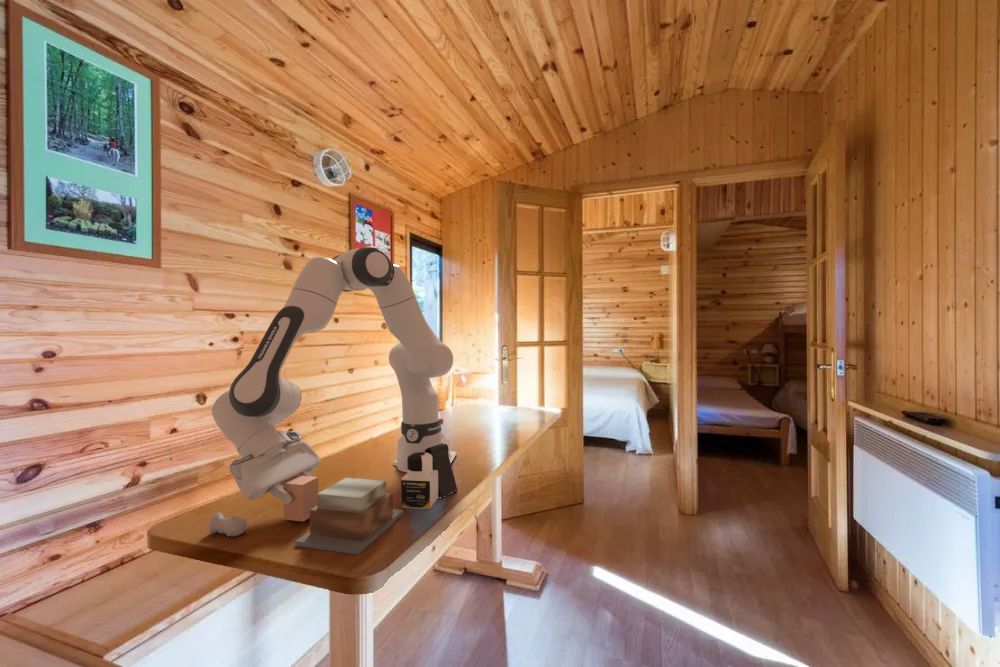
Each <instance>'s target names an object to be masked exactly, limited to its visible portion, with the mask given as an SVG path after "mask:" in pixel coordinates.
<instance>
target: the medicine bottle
mask: <svg viewBox="0 0 1000 667" xmlns="http://www.w3.org/2000/svg"><path fill="white" fill-rule="evenodd" d="M407 470H408V472H406V474H404V476H403V477H401V480H400V481H401V482H400V484H401V485H400V488H401V489H400V490H401V496H400V497H401V508H402V509H417V510H418V509H419V510H431V508H432V507H433V506H434V504H435V503H436V501H437V500H438V499H439V498H438V471H437V470H433V465H432V455H431V454H429V453H426V452H418V453H413V454H411V455H409V456H408V458H407Z"/></svg>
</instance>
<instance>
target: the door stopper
mask: <svg viewBox="0 0 1000 667" xmlns="http://www.w3.org/2000/svg"><path fill="white" fill-rule="evenodd" d="M425 452H426V453H429V454H431V455H432V465H433V470H437V471H438V497H441V498H442V497H444V496H446V495H448V494H450V493H451V492H453V491H455V490H458V487H457V483H456V479H455V475H454V471H453V467H452V465H451V463H450V459H449V455H448V452H449V448H448V445H447V444H443V443H442V444H439V445H436V446H433V447H430V448H427V449H426V450H425ZM450 495H451V494H450ZM448 496H449V495H448ZM446 497H447V496H446ZM444 498H445V497H444ZM442 499H443V498H442Z"/></svg>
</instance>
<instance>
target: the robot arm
mask: <svg viewBox="0 0 1000 667" xmlns="http://www.w3.org/2000/svg"><path fill="white" fill-rule="evenodd" d="M366 289H369V290H370V291H371V292H372V293H373V295H374V296H375V299H376V302H377V304H378V308H379V309H380V312H381V315H382V317H383V319H384V322H385V324H386V327H387V328H388V329H387V330H389V333H391V335H393V336H394V337H395V339H397V340H398V342H400V343H397V344H395V345H394V346H393V347H392V348H391V349H390V351H389V354H388V362H389V364H390V367H391V368H392V370H393V372H394V373H395V375H396V379H397V382H398V385H399V390H400V394H401V409H402V411H401V412H402V421H401V424H400V433H401V436H400V437H399V438H398V439H397V448H396V459H395V460H393V466H395V467H397V470H398V471H400V472H403V473H408V470H407V458H408V456H409V455H411V454H413V453H418V452H425V450H426V449H427V448H430V447H433V446H436V445H439V444H442V443H443V444H447V445H448V448H449V452H448V455H449V459H450V463H452V461H453V459H454V457H455V455H456V453H457V451H454V450H451V446H450V439H449V437H447V436H446V434H445V433H443V432H442V430H443V429H442V426H443V425H444V418H440V417H439V394H438V393H437V391H436V390H435V389H434V387H433V385H432V383H431V379H433V378H439V377H442V376H445V375H447V374H448V373H449V372H450V371H451V370H452V367H453V364H454V354H453V352H452V349H450V348H449V346H448V345H446V344H445V343H443V342H442V341H441V339H439V337H438V336H437V335H436V334H435V332H434V331H433V329H432V328H431V327H430V325H429V324H428V322H427V320H426V319H425V317H424V314H423V312H422V308H421V307H420V304H419V302H418V299H417V297H416V293H415V291H414V288H413V287H412V284H411V282H410V280H409V279H408V277H407V275H406V273H405V272H404V270H403V269H402V267H401V266H399V265H398V264H395V263H393V261H392V260H391V258H390V257H389V256H388V254H387V252H385V251H384V250H382V249H381V248H379V247H376V246H372V245H371V246H362V247H360V248H359V247H358V248H353V249H349V250H347V251H346V252H344V253H341V254H339V255H336V256H335V257H333V258H332V259H331V258H329V257H324V256H316V257H315V256H314V257H313V258H311V259H309V260H308V261H307V262H306V263H305V265H304V267H302V270H301V271H300V273H299V275H298V277H297V278H296V280H295V283H294V285H293V287H292V289H291V292H290V294H289V296H288V298H287V300H286V302H285V304H284V305H283V306H282V308H281V309H280V310H279V311H278V312H277V314H275V316H274V318H273V319H272V321H271V322H270V324H269V326H268V328H267V330H266V331H265V334H264V335H263V337H262V338H261V341H260V343H259V344H258V346H257V348H256V350H255V351H254V353H253V356H252V357H251V360H250V361H249V362H248V363H247V365H246V366H245V368H243V370H241V371H240V372H239V373H238V375H236V377H235V378H234V380H233V381H232V383H231V385H230V387H229V390H226V391H225V392H224V393H222V394H221V395H220V396H218V398H217V399H216V400H215V402H214V403H213V405H212V407H211V414H212V417H213V420H214V422H215V424H216V426H217V427H218V428H219V430H220V431H221V433H222V435H223V436H224V437H225V438H226V439H227V440H228V441H230V443H232V444H233V445H234V446H235V448H236V451H237V453H238V455H239V456H240V457H241V458H238V459H234V460H233V461H231V463H230V465H229V469H228V470H229V472H230V474H231V475H232V476H233V477H234V481H235V483H236V486H237V487H238V488H239V491H240V492H241V494H242V495H243V496H244V498H245V499H247V500H249V501H254V500H255V499H258V498H260V497H262V496H264V495H266V494H268V493H270V494H271V495H272V497H275V498H276V499H280V500H281V501H282V502H283V504H284V503H285V504H286V505H287V504H289V503H291V502H293V500H294V499H295V496H294V495H293V493H292V492H289V493H288V492H287V491H285V490H284V487H283V483H285V482H287V481H289V480H291V479H293V478H295V477H297V476H299V475H300V476H312V475H311V473H312V472H314V470H316V469H317V467H318V466H319V465H320V464H321V458H320V456H319V455H318V454H317V452H316V451H315V450H314V449H313V448H312V447H311V445H310V444H309V443H308V442H307V441H305V440H302V438H303V435H302V433H300V432H299V431H286V430H278V429H277V428H276V426H275V425H277V424H278V423H280V422H282V421H283V420H285V419H286V418H288V417H289V416H291V415H293V414H294V413H295V412H296V411H297V410H298V409H299V407H300V405H301V402H302V393H301V390H300V388H299V386H298V385H297V384H296V383H295V382H293V381H291V380H289V379H287V378H283V377H281V371H282V368H283V367H284V365H285V363H286V361H287V359H288V357H289V354H290V353H291V350H292V348H293V346H294V344H295V342H296V341H297V340H298V339H299V338H300V337H302V336H303V335H307V334H312V333H317V332H320V331H322V330H323V329H325V328H326V327H327V326H328V324H329V323H330V321H331V319H332V317H333V316H334V313H335V310H336V307H337V305H338V302H339V299H340V296H341V294H342V293H343V292H346V293H347V292H350V293H351V292H353V291H354V292H356V291H357V292H358V291H364V290H366ZM453 462H454V461H453ZM452 464H453V463H452Z"/></svg>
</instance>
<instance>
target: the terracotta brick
mask: <svg viewBox="0 0 1000 667" xmlns="http://www.w3.org/2000/svg"><path fill="white" fill-rule="evenodd" d="M282 488H283V490H285V491H287V492H288V493H289V492H292V493H293V495H294V496H295V499H294V500H293V502H291V503H289V504H287V505H286V504H285V503H284V502H283V519H284V520H285V521H286V520H288V521H295V522H305V521H306V520H309V519H310V509H312V508H314V507H316V506H317V494H318V493H319V477H318V476H312V475H311V476H300V475H299V476H297V477H295V478H293V479H291V480H289V481H287V482H285V483H283V487H282Z"/></svg>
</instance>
